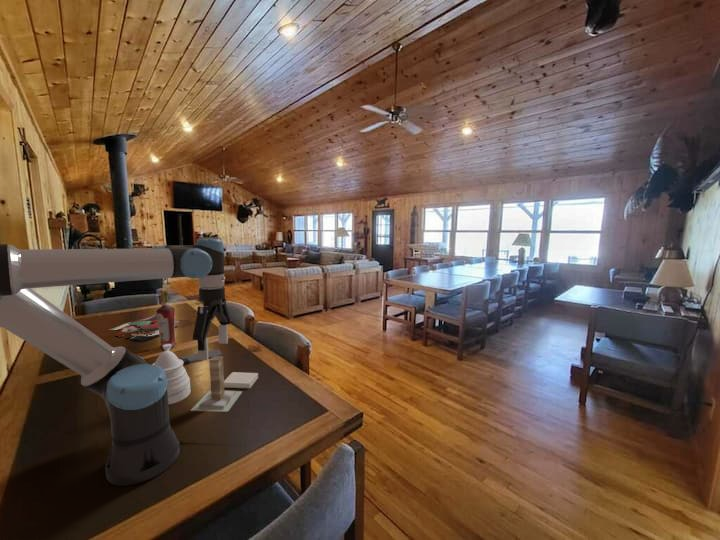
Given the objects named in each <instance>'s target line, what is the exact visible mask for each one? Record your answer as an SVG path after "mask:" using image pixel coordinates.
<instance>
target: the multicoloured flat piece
mask: <svg viewBox="0 0 720 540" xmlns="http://www.w3.org/2000/svg"><path fill="white" fill-rule="evenodd" d="M183 320H184V321H183V322H188V320H187V319H186V320H185V319H183ZM179 322H180V321H179V320H175V327H177V328H178V324H180V323H179ZM177 323H178V324H177ZM138 327H140V328H138ZM118 329H121V331H120V332H118V331H117V332H118V333H117V332H115V333H116V334H127V333H132V334H131V335H132V336H134V337H132V338H130V339H129V340H134V341H137V342H142V343H144V342H146V341H149V340H151V339H155V338H157V337H160V335H159V327H158V321H157V314H154V315H152V316H149V317H146V318H143V319H137V320H132V321H129V322H126V323H123V324H121V325H118V326H115V327H114V328H110V329H109V330H118ZM157 329H158V330H157ZM149 334H152V335H149ZM146 335H148V336H146ZM123 336H124V335H123ZM119 337H120V336H119ZM119 337H118V338H119Z"/></svg>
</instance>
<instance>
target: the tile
mask: <svg viewBox="0 0 720 540" xmlns="http://www.w3.org/2000/svg"><path fill="white" fill-rule="evenodd" d="M258 379H259V373H258V372H240V371H239V372H238V371H237V372H236V371H232V372H231V373H230V374H229V375H228V376H227V377H226V379H224V388H232V389H233V388H234V389H235V388H236V389H251V388H252V387H253V385H254V384H255V383H256V381H257V380H258Z"/></svg>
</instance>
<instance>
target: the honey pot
mask: <svg viewBox="0 0 720 540" xmlns="http://www.w3.org/2000/svg"><path fill="white" fill-rule="evenodd" d="M171 346H172V344H165V345H163V349H162V350H164V351H162V352H161V353H160V354H159V355H158V357H157V359H156V360H155V362H153V363H152V364H151V365H157V366H159V367H161V368H162V369H163V370H164V371H165V374H166V378H167V383H168V386H167V392H168V406H169V405H173V404H176V403H178V402H181V401H183V400H184V399H186V398H187V397H188V396H189V395H190V394H191V379H190V376H189V375H188V372H187V369H186V368H185V366H184V365H183V363H184V362H183V360H181V358H178V356H177V355H176V353H174V352H173V351H171V349H172V348H171Z"/></svg>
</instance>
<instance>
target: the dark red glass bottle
mask: <svg viewBox="0 0 720 540" xmlns="http://www.w3.org/2000/svg"><path fill="white" fill-rule="evenodd" d="M168 292H169V291H168V290H167V289H162V290H160V296H161V305H160V306H161V307H158V308H157V309H156V310H155V311H156V315H157V321H158V323H157V324H158V327H159V329H158V330H159V335H160V336H159V343H160V344H159V348H160V349H162V350H164V349H163V345H165V344H172V346H171V349H173V348H174V347H175V346H176V345H177V342H176V334H175V333H176V329H175V326H176V324H175V321H176V318H175V317H176V315H175V314H176V313H175V308H174V307H173V306H170V305H169V299H168Z"/></svg>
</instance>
